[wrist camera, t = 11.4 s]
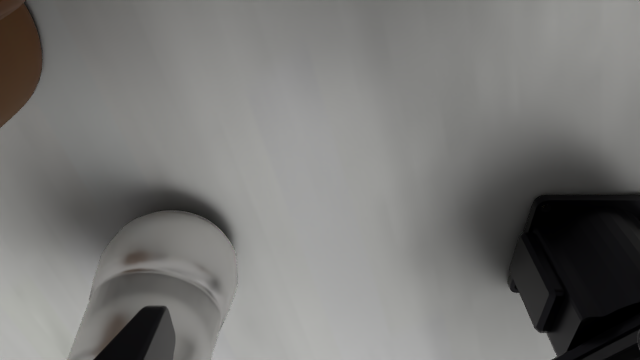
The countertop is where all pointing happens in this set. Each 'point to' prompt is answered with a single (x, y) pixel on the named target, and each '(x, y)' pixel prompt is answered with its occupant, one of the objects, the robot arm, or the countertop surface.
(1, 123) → the mug
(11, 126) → the countertop surface
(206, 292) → the plastic bottle
